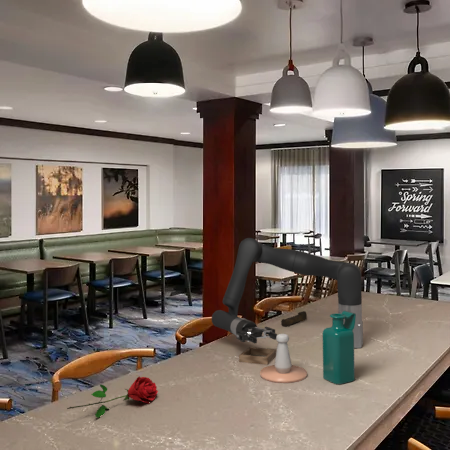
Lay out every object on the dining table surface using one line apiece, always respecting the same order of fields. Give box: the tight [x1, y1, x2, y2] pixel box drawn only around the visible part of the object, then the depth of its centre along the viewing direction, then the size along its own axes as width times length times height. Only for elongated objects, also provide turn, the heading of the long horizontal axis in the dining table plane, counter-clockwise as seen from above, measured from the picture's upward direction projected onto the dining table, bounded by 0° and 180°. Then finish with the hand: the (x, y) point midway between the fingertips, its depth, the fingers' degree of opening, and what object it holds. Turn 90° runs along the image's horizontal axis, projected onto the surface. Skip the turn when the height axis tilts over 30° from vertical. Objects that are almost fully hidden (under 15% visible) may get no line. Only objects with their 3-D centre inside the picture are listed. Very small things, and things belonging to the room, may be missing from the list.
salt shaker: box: [274, 333, 293, 374], centre depth 177 cm, size 6×6×13 cm
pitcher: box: [321, 311, 356, 385], centre depth 172 cm, size 10×8×22 cm
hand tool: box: [280, 310, 308, 328], centre depth 250 cm, size 19×4×5 cm, turn 135°
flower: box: [66, 376, 159, 419], centre depth 152 cm, size 9×9×30 cm
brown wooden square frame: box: [238, 346, 277, 366], centre depth 196 cm, size 11×11×2 cm
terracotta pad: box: [259, 364, 308, 384], centre depth 178 cm, size 16×16×1 cm
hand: (266, 338), depth 187 cm, fingers open, 8 cm apart
